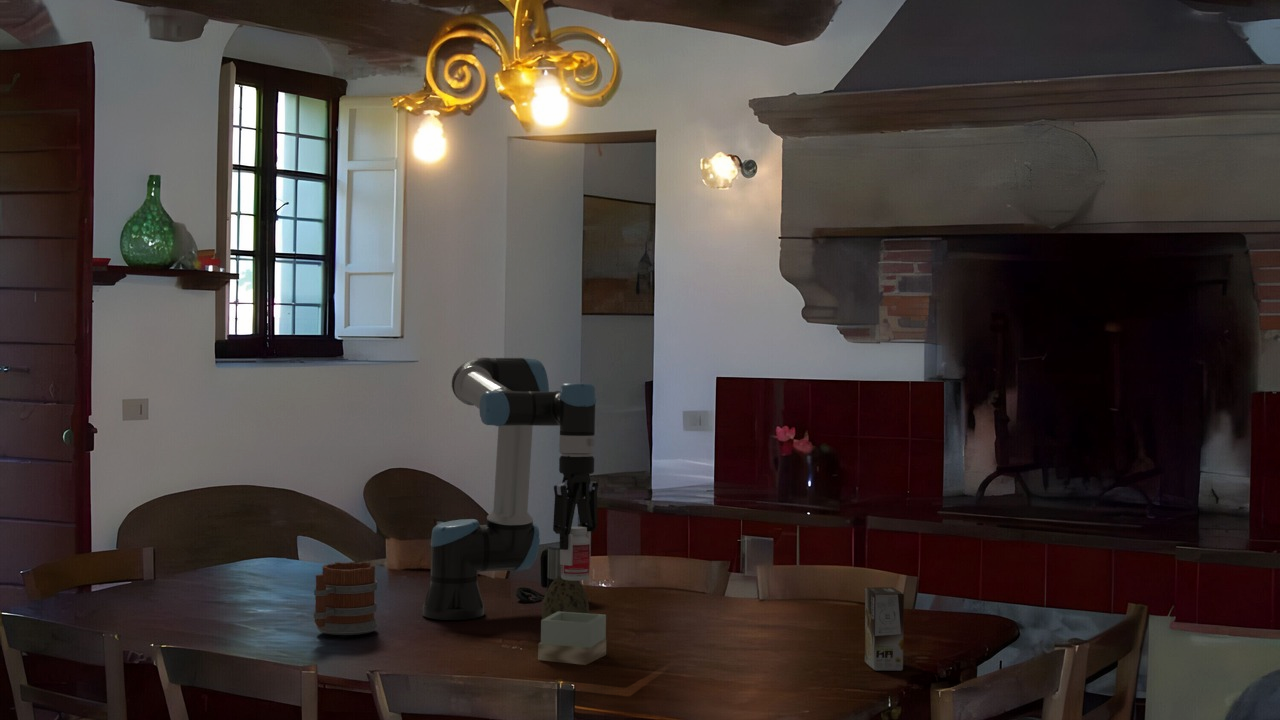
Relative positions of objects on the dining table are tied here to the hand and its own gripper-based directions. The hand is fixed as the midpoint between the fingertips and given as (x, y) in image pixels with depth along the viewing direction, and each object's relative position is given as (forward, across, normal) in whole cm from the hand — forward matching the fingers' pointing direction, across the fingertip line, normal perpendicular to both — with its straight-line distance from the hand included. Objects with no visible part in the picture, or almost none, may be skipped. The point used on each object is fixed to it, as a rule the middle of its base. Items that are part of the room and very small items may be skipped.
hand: (575, 562), depth 286 cm
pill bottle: (+4, 0, 0) cm, 4 cm away
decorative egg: (+20, +14, +12) cm, 28 cm away
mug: (+20, -9, +59) cm, 63 cm away
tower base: (+21, 0, 0) cm, 21 cm away
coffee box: (+21, +31, -58) cm, 69 cm away
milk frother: (+20, +52, +44) cm, 71 cm away
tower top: (+17, 0, 0) cm, 17 cm away
